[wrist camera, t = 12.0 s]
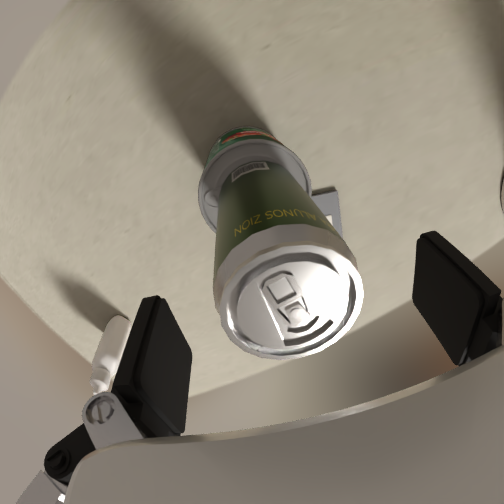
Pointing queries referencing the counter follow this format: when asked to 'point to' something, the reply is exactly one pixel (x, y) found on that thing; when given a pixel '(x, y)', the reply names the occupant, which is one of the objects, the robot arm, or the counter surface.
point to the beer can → (280, 267)
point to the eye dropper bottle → (109, 353)
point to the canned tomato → (238, 153)
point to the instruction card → (329, 208)
